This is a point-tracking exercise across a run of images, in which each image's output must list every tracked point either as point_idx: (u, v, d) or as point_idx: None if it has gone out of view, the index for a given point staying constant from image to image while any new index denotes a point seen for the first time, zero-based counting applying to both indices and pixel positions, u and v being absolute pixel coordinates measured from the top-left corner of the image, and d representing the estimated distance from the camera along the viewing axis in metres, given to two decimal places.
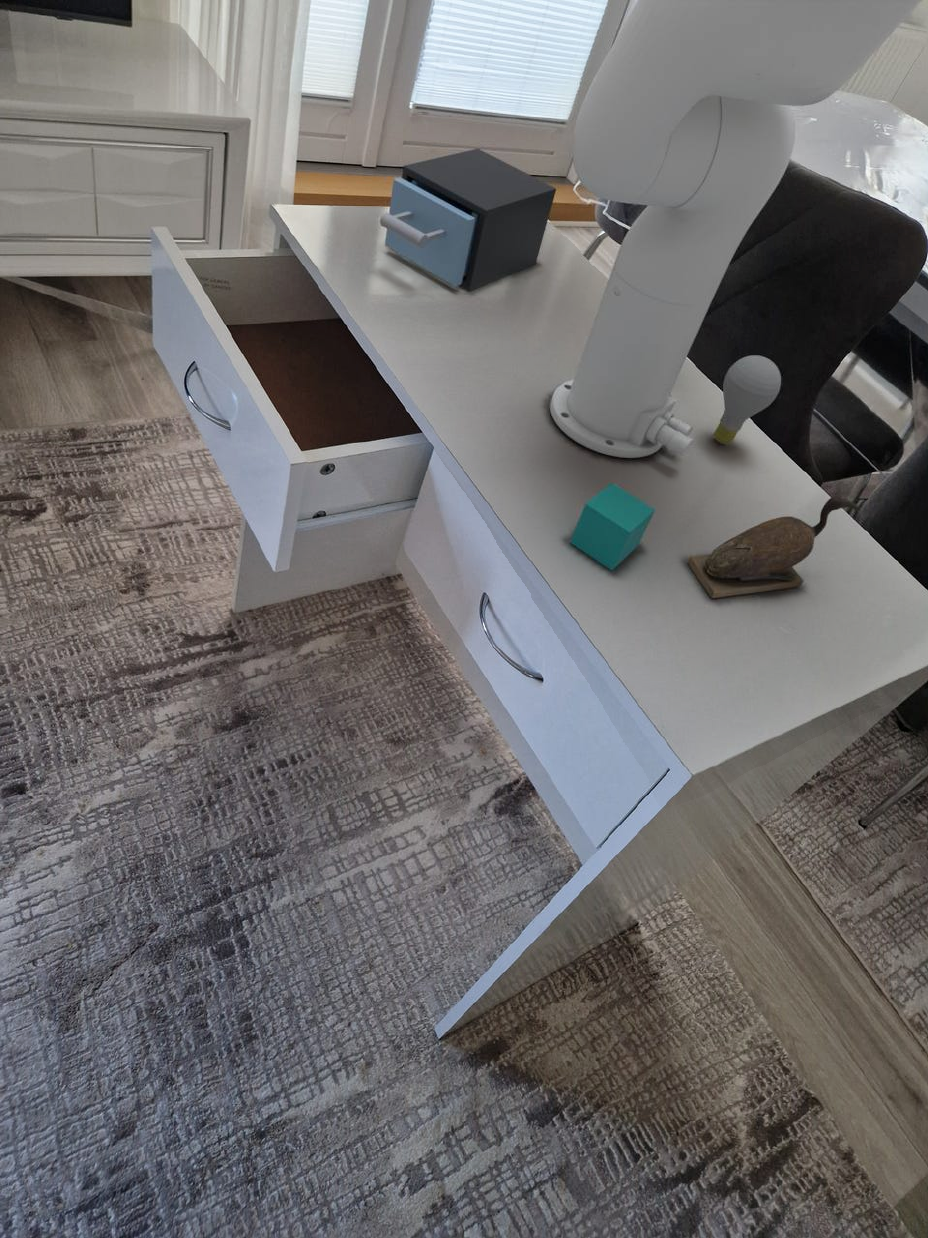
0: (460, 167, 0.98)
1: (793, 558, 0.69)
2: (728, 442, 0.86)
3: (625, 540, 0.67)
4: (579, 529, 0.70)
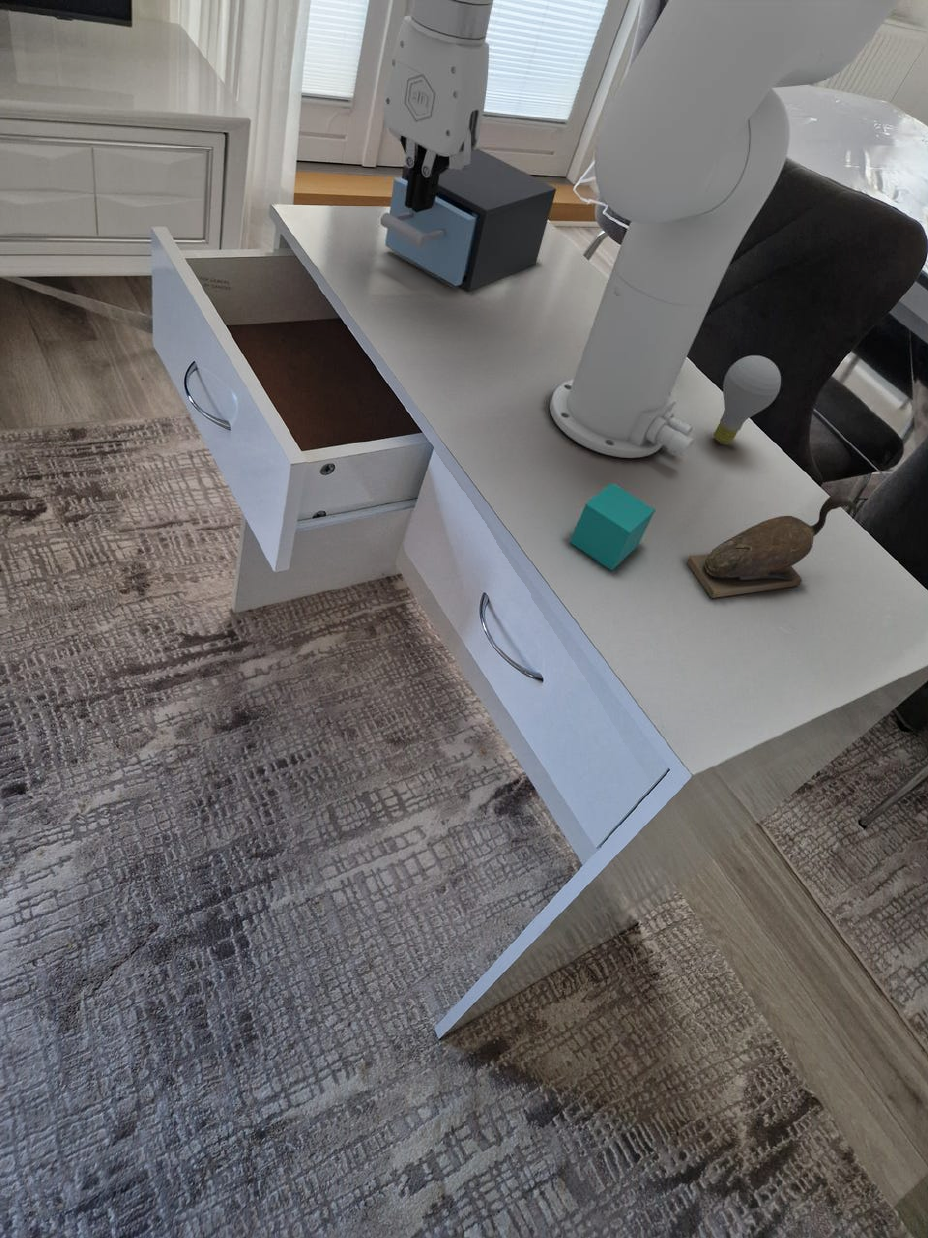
0: None
1: (793, 557, 0.69)
2: (728, 442, 0.86)
3: (625, 540, 0.67)
4: (579, 529, 0.70)
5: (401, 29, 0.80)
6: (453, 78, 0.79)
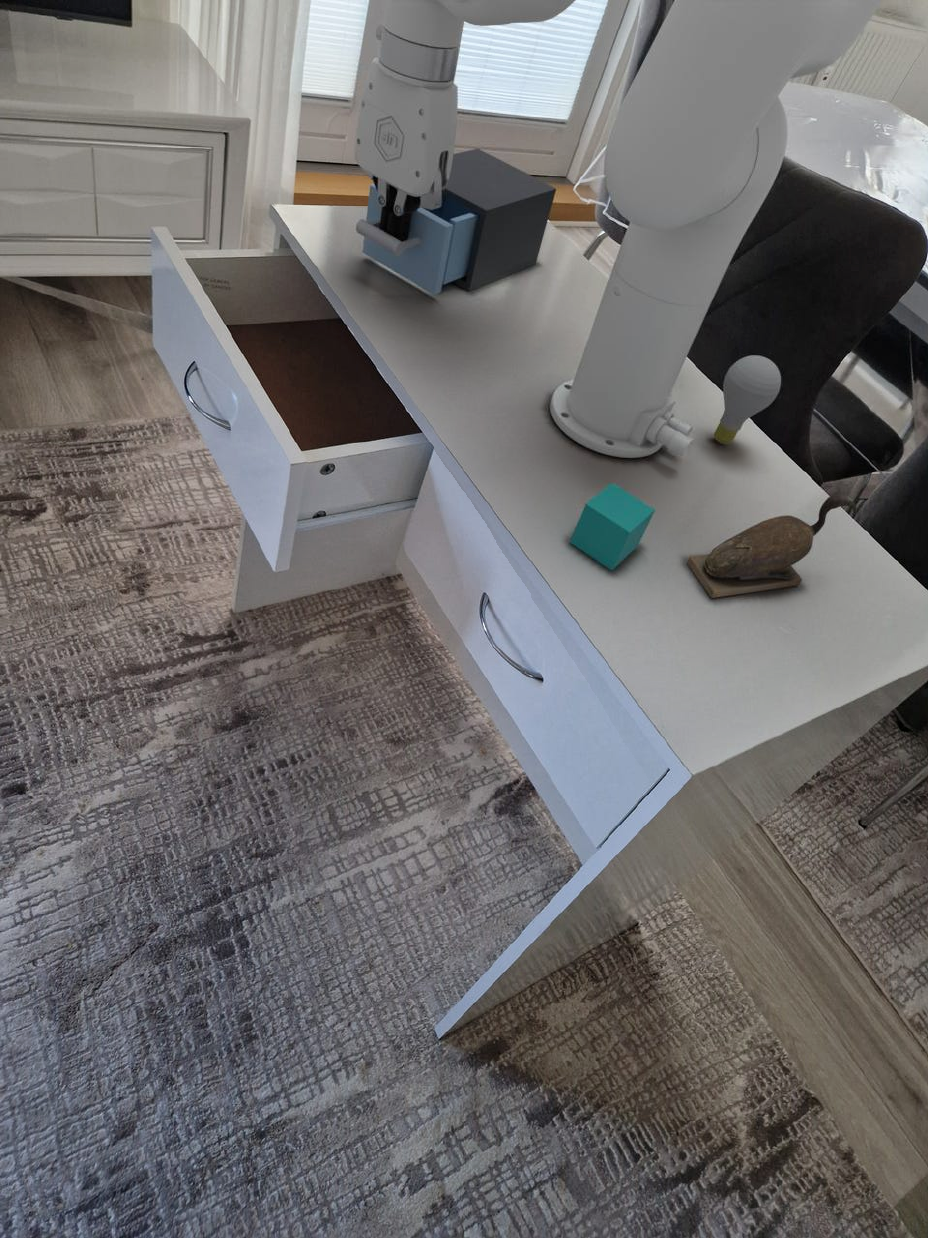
0: (460, 167, 0.98)
1: (792, 557, 0.69)
2: (728, 442, 0.86)
3: (625, 540, 0.67)
4: (579, 529, 0.70)
5: (370, 71, 0.80)
6: (421, 120, 0.79)
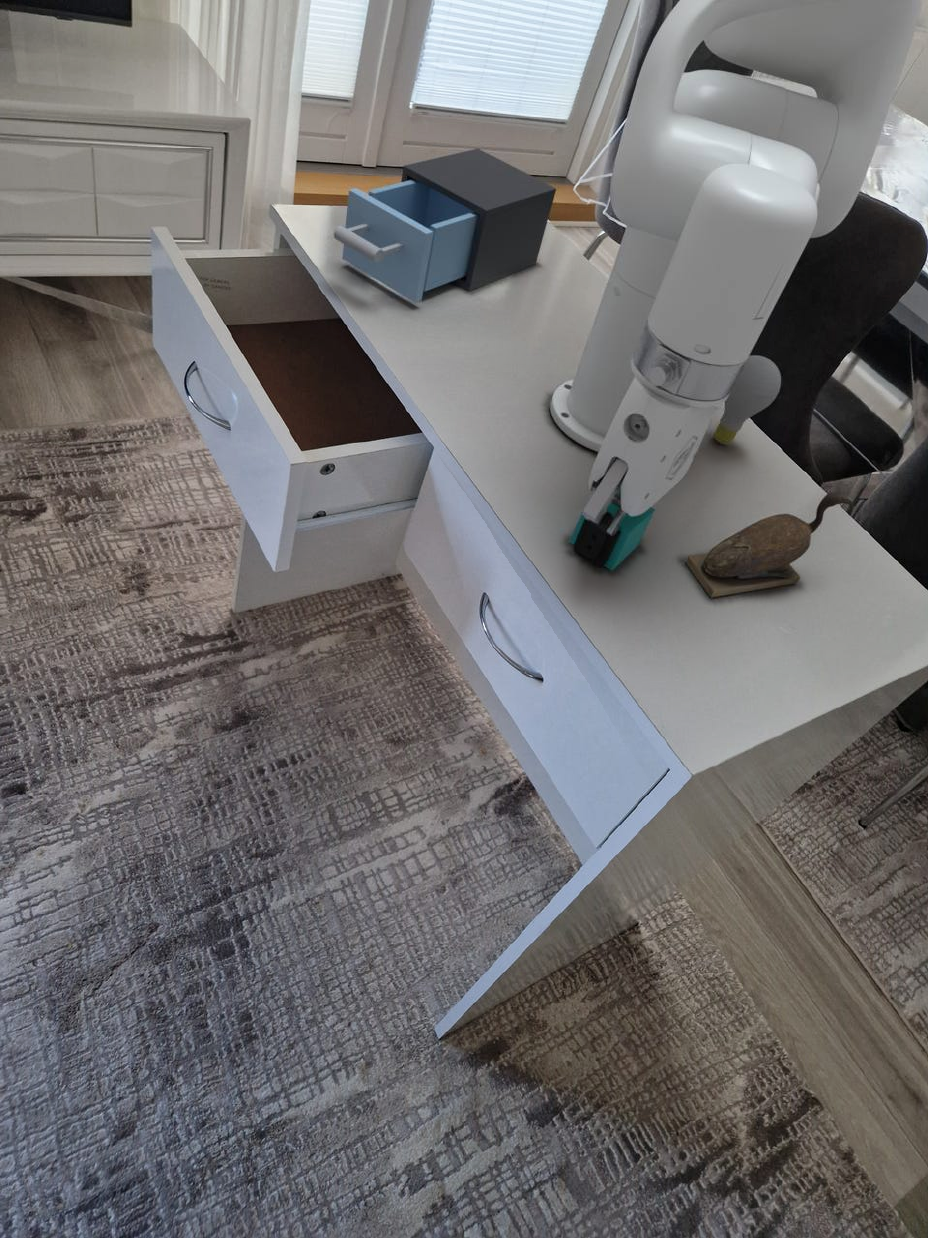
0: (460, 167, 0.98)
1: (791, 555, 0.69)
2: (728, 442, 0.86)
3: (625, 540, 0.67)
4: (579, 529, 0.70)
5: (678, 422, 0.57)
6: (714, 409, 0.63)
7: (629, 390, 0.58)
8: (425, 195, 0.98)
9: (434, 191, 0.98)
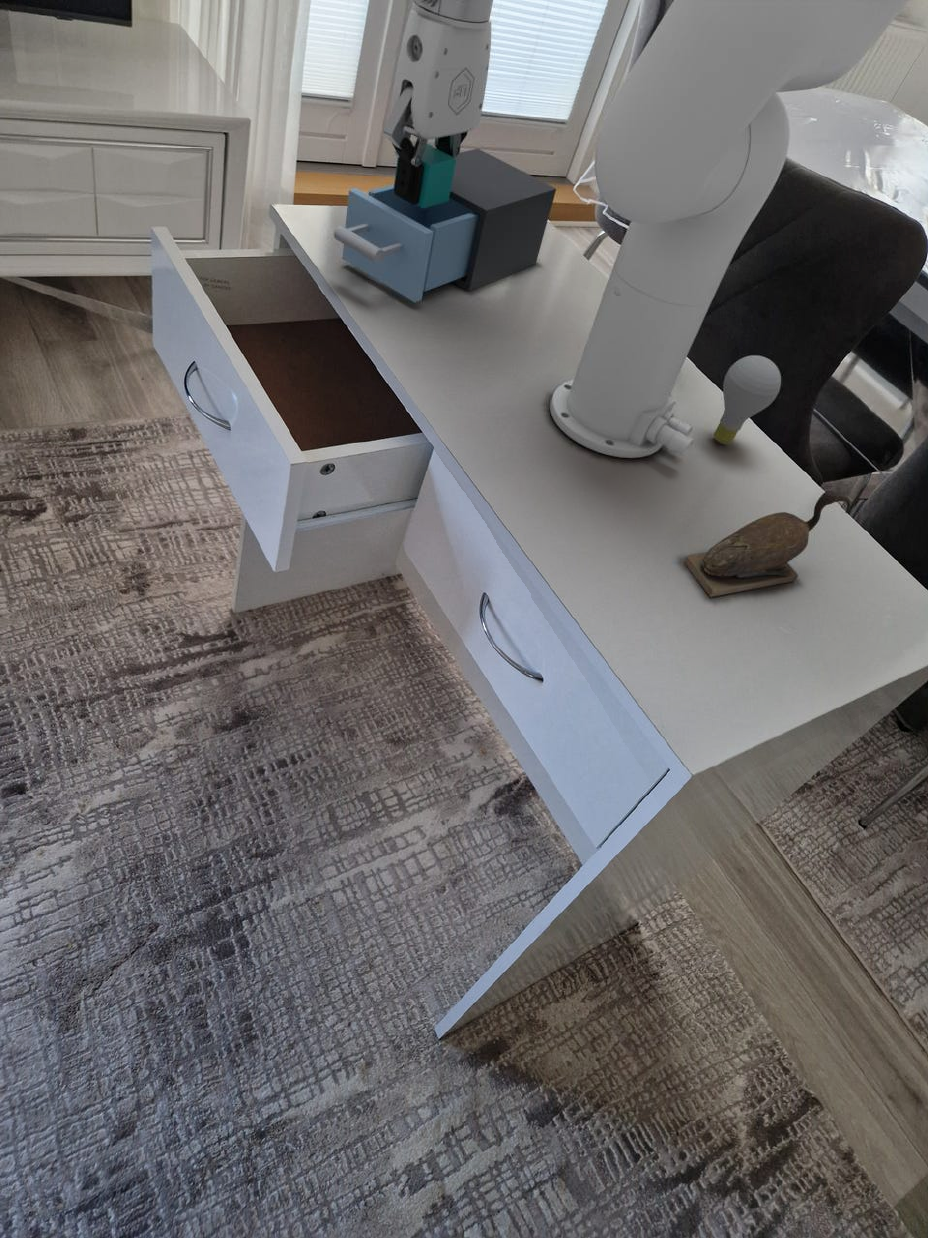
0: (460, 167, 0.98)
1: (789, 554, 0.70)
2: (728, 442, 0.86)
3: (428, 174, 0.86)
4: None
5: (442, 37, 0.76)
6: (486, 55, 0.82)
7: (408, 18, 0.77)
8: None
9: None
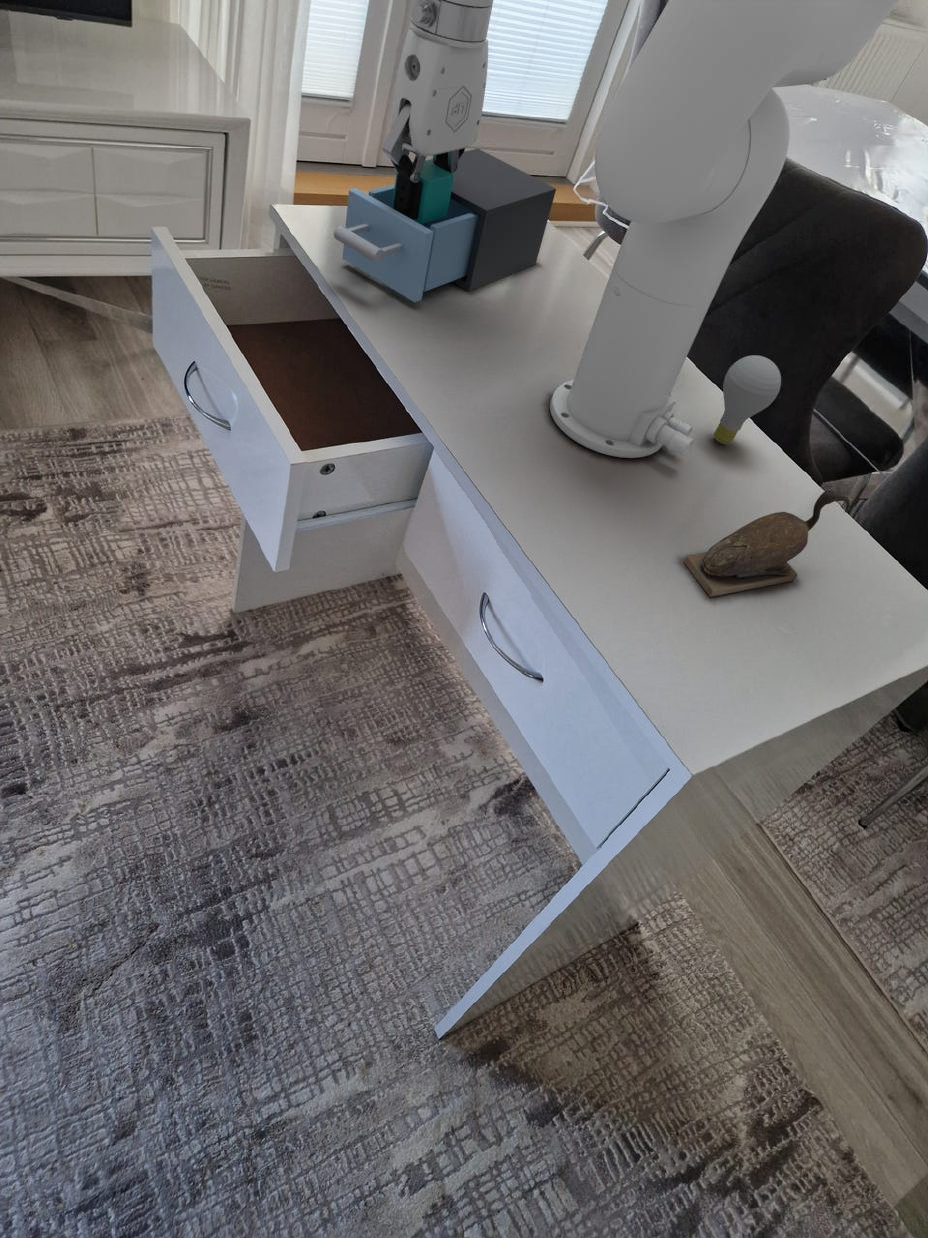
0: (460, 167, 0.98)
1: (789, 553, 0.70)
2: (728, 442, 0.86)
3: (426, 190, 0.88)
4: None
5: (439, 57, 0.77)
6: (483, 73, 0.83)
7: (406, 38, 0.78)
8: None
9: None
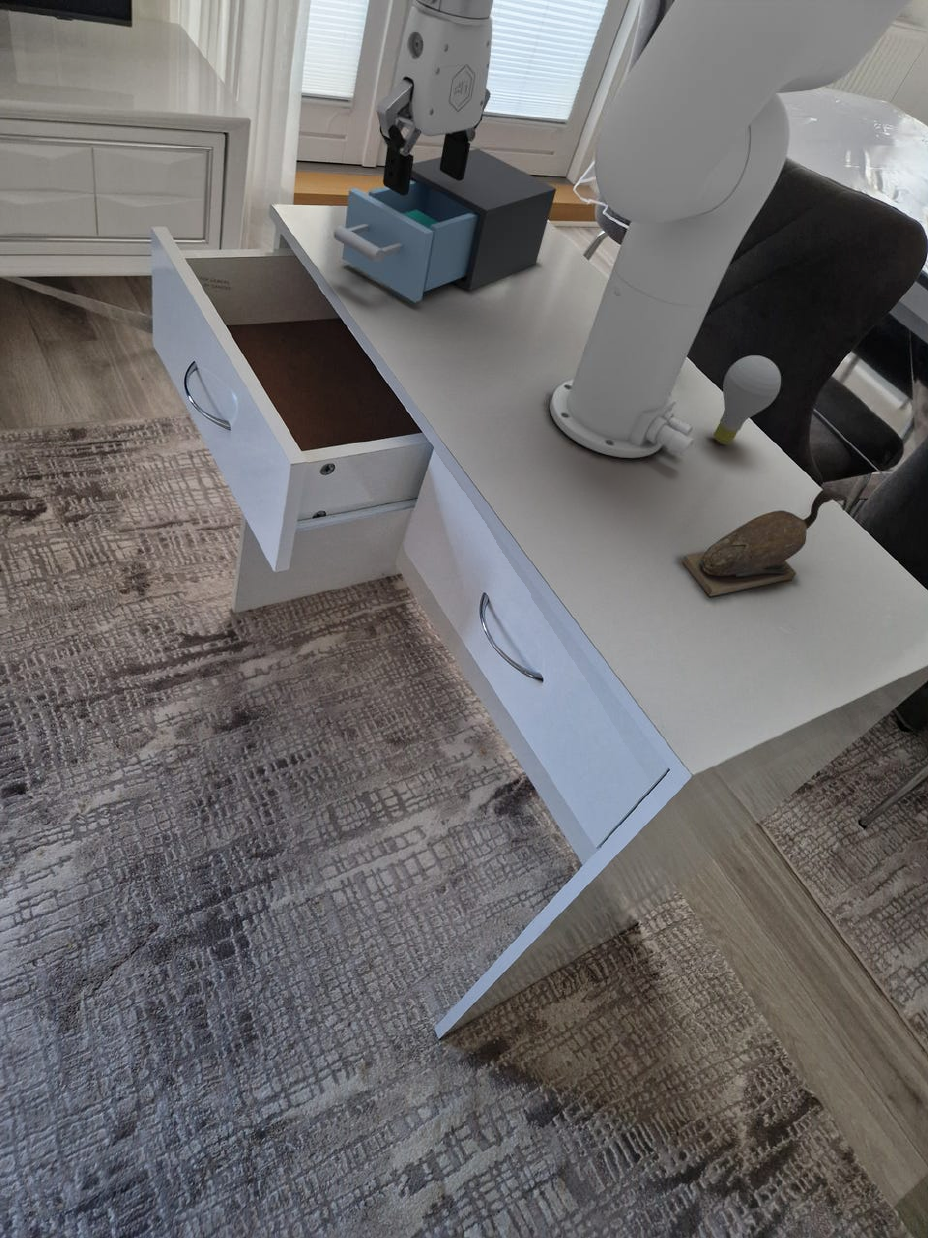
0: None
1: (788, 552, 0.70)
2: (728, 442, 0.86)
3: None
4: None
5: (443, 34, 0.76)
6: (487, 51, 0.82)
7: (409, 15, 0.77)
8: (425, 195, 0.98)
9: (434, 191, 0.98)
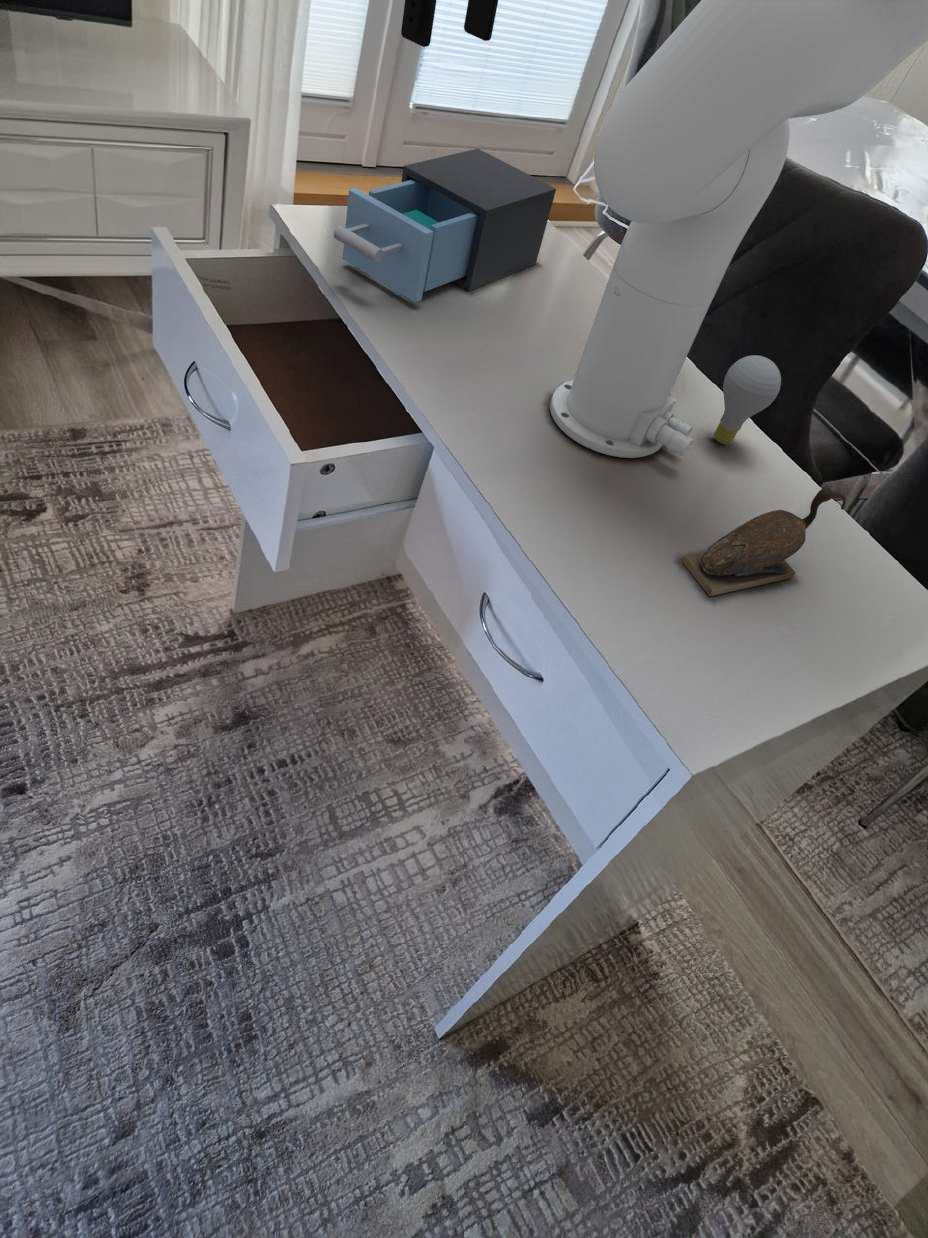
0: (460, 167, 0.98)
1: (787, 551, 0.70)
2: (728, 442, 0.86)
3: None
4: None
5: None
6: None
7: None
8: (425, 195, 0.98)
9: (434, 191, 0.98)
